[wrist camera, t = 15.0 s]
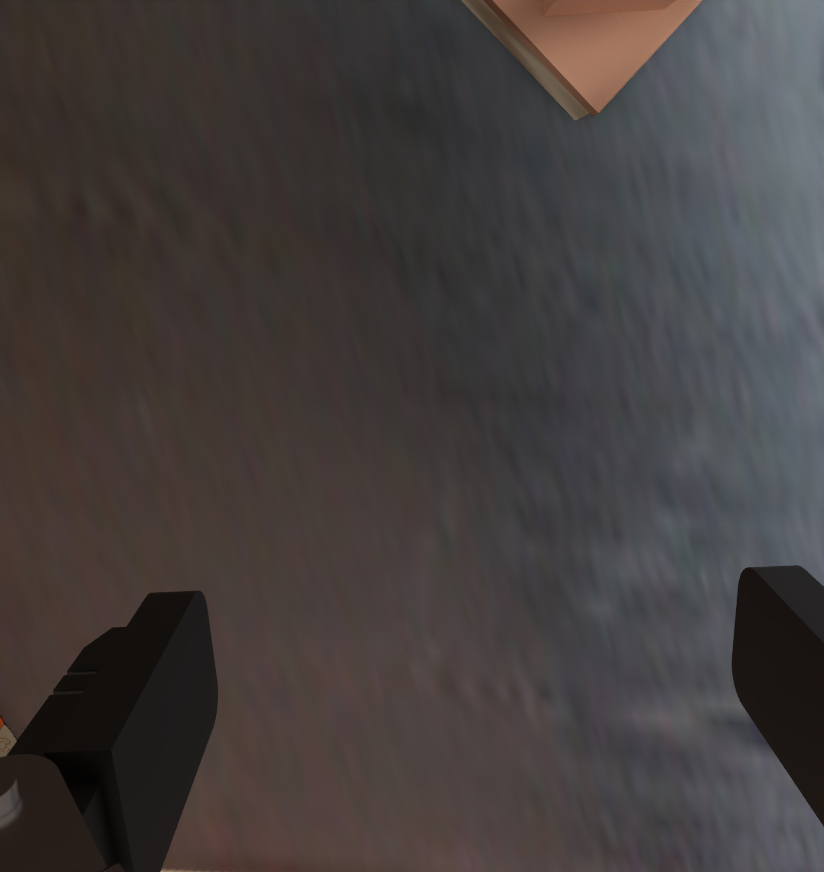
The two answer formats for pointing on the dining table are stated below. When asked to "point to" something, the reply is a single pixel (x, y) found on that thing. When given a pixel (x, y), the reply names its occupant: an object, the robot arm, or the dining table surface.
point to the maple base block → (580, 46)
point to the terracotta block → (600, 6)
